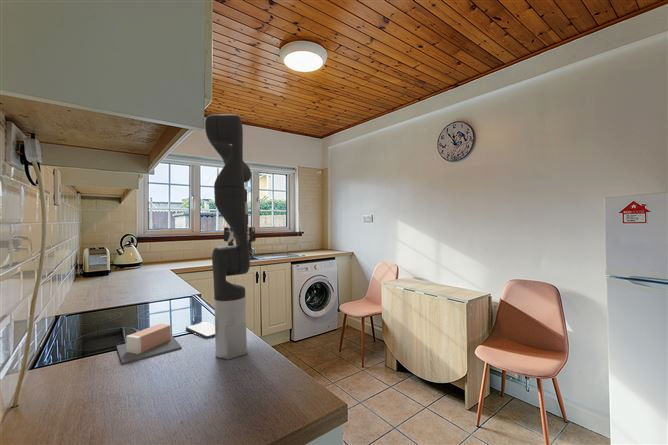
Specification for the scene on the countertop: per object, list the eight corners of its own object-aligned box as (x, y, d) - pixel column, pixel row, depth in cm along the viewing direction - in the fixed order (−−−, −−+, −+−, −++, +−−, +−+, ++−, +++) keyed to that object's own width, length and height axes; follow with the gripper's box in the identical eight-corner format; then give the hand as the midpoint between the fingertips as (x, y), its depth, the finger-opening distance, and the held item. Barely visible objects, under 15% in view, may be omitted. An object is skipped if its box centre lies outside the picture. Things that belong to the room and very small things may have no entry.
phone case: (229, 333, 114) (206, 324, 124) (229, 329, 114) (206, 320, 124) (206, 341, 107) (184, 331, 117) (206, 336, 107) (184, 326, 117)
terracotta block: (170, 325, 106) (137, 337, 95) (170, 339, 106) (138, 354, 95) (159, 323, 108) (126, 336, 96) (160, 337, 108) (126, 351, 96)
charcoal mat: (181, 348, 100) (181, 346, 100) (121, 364, 89) (121, 362, 89) (170, 335, 112) (170, 333, 112) (116, 347, 102) (116, 345, 102)
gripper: (218, 213, 128) (219, 252, 128) (247, 212, 123) (248, 253, 123) (230, 213, 135) (231, 250, 135) (258, 212, 130) (259, 251, 130)
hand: (239, 251), depth 129 cm, fingers open, 8 cm apart
